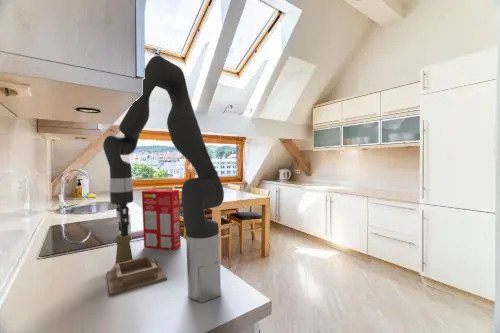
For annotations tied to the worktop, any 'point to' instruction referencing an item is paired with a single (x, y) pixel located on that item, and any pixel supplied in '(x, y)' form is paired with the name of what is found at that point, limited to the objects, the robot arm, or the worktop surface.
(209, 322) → the worktop surface
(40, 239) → the worktop surface
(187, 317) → the worktop surface
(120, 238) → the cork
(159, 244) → the food packaging
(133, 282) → the shaker holder
